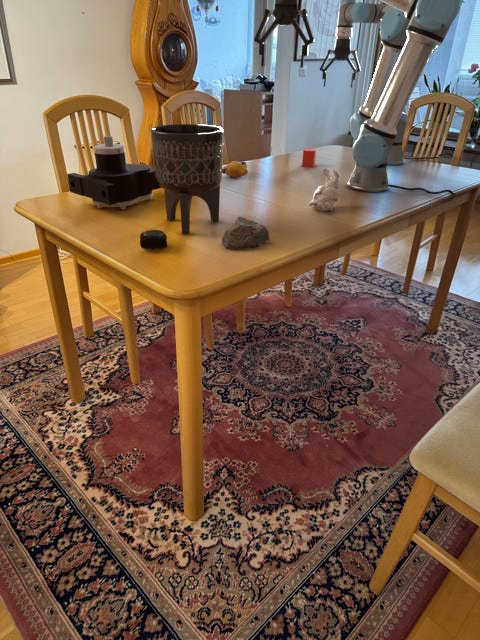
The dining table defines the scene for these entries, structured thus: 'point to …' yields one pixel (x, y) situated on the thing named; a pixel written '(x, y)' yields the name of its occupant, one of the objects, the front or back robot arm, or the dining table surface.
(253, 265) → the dining table surface
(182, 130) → the planter
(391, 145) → the front robot arm
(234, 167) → the toy
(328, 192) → the figurine
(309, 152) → the brick
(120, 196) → the mechanical component
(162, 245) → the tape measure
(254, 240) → the rock
